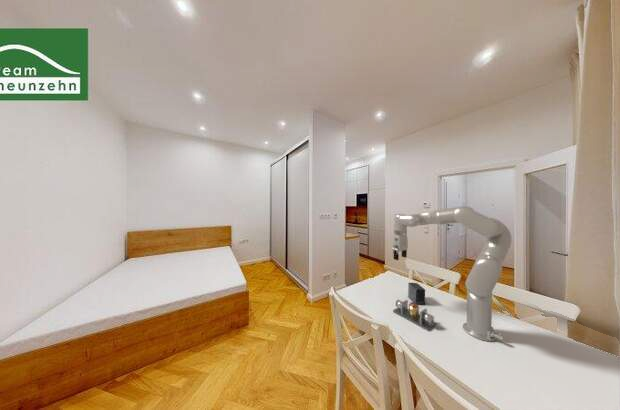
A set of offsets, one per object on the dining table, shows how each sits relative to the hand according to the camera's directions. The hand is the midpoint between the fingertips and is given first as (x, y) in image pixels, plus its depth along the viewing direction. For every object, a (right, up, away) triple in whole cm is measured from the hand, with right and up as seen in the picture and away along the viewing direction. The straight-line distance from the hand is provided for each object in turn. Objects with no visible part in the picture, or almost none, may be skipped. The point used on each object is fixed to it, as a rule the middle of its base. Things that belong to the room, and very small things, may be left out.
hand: (400, 258), depth 124 cm
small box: (+13, -31, +4) cm, 33 cm away
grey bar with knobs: (0, -31, -15) cm, 34 cm away
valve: (0, -29, -16) cm, 33 cm away
